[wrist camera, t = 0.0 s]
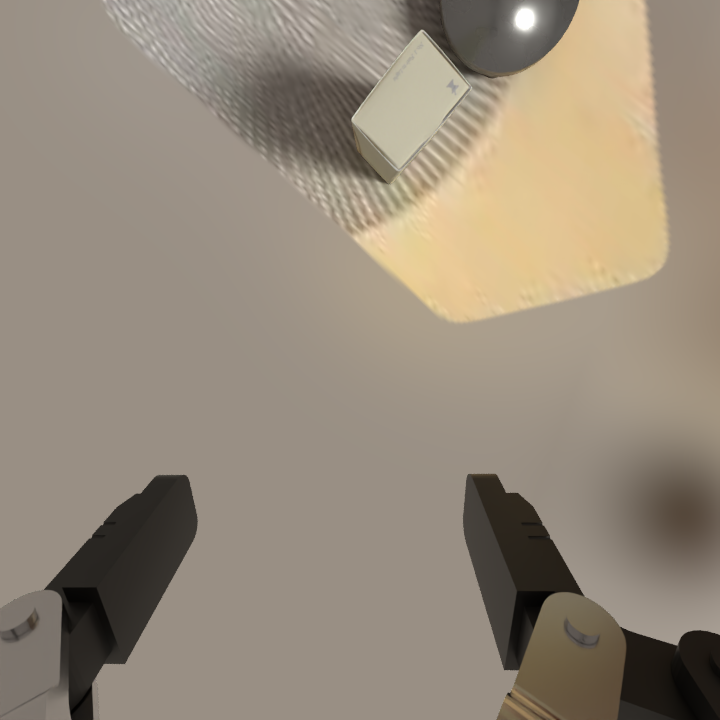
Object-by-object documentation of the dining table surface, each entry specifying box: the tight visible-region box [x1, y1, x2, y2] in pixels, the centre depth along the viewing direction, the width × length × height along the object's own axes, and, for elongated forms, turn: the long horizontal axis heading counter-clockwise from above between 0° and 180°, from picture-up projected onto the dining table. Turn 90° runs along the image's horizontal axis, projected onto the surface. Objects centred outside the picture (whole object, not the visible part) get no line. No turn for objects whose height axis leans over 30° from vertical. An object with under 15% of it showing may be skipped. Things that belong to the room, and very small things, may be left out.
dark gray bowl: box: [440, 0, 579, 78], centre depth 29 cm, size 10×10×3 cm
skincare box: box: [351, 30, 472, 184], centre depth 28 cm, size 6×4×12 cm
